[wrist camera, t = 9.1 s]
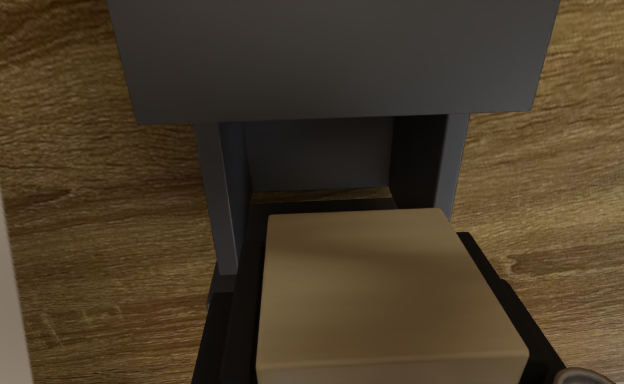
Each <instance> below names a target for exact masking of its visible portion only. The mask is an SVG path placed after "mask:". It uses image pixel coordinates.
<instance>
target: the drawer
mask: <svg viewBox="0 0 624 384" xmlns="http://www.w3.org/2000/svg"><path fill="white" fill-rule="evenodd" d="M469 118H470V113H466V114H437V115H409V116H381V117H353V118H325V119H296V120H268V121H240V122H212V123H193V127H194V132H195V138H196V144H197V149H198V155H199V161H200V166H201V172H202V178H203V184H204V189H205V195H206V201H207V206H208V212H209V218H210V223H211V229H212V235H213V240H214V246H215V252H216V258H217V261H216V265H215V269H214V273H213V278H212V282H211V286H210V290H209V294H208V299H207V303H206V306H207V310H209V306H210V301H211V298H212V295H213V293H217V292H234V288H235V282H236V276H237V270H238V264H239V258H240V252H241V247H242V242H245V241H263V242H264V246H266V238H267V226H268V218H269V216H270V215H274V214H298V213H322V212H347V211H371V210H395V209H419V208H440V209H441V210H442V211H443V213H444V215H445V216H446V218H447V219H448V221H449V223H450V219H451V213H452V208H453V203H454V197H455V192H456V187H457V181H458V176H459V171H460V166H461V160H462V155H463V150H464V144H465V139H466V134H467V128H468V123H469ZM374 187H389V190H390V192H391V194H392V196H393V198H374V199H351V200H328V201H305V202H282V203H259V204H250V202H251V195H252V193H257V192H281V191H304V190H327V189H351V188H374Z"/></svg>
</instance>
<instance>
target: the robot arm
mask: <svg viewBox="0 0 624 384" xmlns="http://www.w3.org/2000/svg"><path fill="white" fill-rule="evenodd" d="M456 234H457V235H458V237H459V239H460V240H461V242H462V243H463V245H464V247H465V248H466V250H467V252H468V253H469V255H470V256H471V258H472V260H473V261H474V263H475V264H476V266H477V268H478V269H479V271H480V272H481V274H482V276H483V277H484V279H485V280H486V282H487V284H488V285H489V287H490V289H491V290H492V292H493V293H494V295H495V297H496V298H497V300H498V301H499V303H500V305H501V306H502V308H503V309H504V311H505V313H506V314H507V316H508V317H509V319H510V321H511V322H512V324H513V325H514V327H515V329H516V330H517V332H518V334H519V335H520V337H521V338H522V340H523V342H524V343H525V345H526V346H527V348H528V350H529V358H528V360H527V363H526V366H525V368H524V371H523V373H522V376H521V378H520V381H519V383H518V384H616V383H615V382H613V381H612V380H610V379H609V378H607V377H606V376H604V375H601V374H599V373H597V372H595V371H592V370H588V369H584V368H580V367H569V368H566V366H565V365H564V363H563V362H562V360H561V359H560V357H559V356H558V354H557V353H556V352H555V350H554V349H553V347H552V346H551V344H550V343H549V341H548V340H547V338H546V337H545V336H544V334H543V333H542V331H541V330H540V328H539V327H538V325H537V324H536V322H535V321H534V319H533V318H532V317H531V315H530V314H529V312H528V311H527V309H526V308H525V306H524V305H523V303H522V302H521V301H520V299H519V298H518V296H517V295H516V293H515V292H514V290H513V289H512V287H511V286H510V285H509V284H508V283H507V281H505V280H503V279H500V278H499V276H498V275H497V273H496V272H495V270H494V269H493V267H492V266H491V264H490V263H489V261H488V260H487V258H486V257H485V255H484V254H483V252H482V251H481V249H480V248H479V246H478V245H477V243H476V242H475V240H474V239H473V237H472V236H471V234H470V233H468V232H456ZM265 250H266V246H264V242H263V241H245V242H242V247H241V252H240V258H239V264H238V270H237V276H236V282H235V288H234V292H217V293H213V295H212V298H211V301H210V306H209V310H208V314H207V318H206V323H205V327H204V331H203V335H202V340H201V344H200V348H199V352H198V357H197V361H196V365H195V369H194V373H193V378H192V382H191V384H258V381H257V373H256V356H257V344H258V333H259V321H260V309H261V297H262V285H263V273H264V262H265Z"/></svg>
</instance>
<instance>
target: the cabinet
mask: <svg viewBox="0 0 624 384" xmlns="http://www.w3.org/2000/svg"><path fill="white" fill-rule="evenodd" d="M106 2H107V6H108V10H109V14H110V18H111V22H112V26H113V30H114V34H115V38H116V42H117V46H118V50H119V54H120V58H121V62H122V66H123V70H124V74H125V78H126V82H127V86H128V90H129V94H130V98H131V102H132V106H133V110H134V114H135V118H136V122H137V125H155V124H184V123H212V122H240V121H268V120H296V119H325V118H353V117H381V116H409V115H437V114H466V113H494V112H522V111H531V109H532V105H533V101H534V98H535V94H536V90H537V86H538V83H539V79H540V75H541V71H542V68H543V64H544V60H545V56H546V53H547V49H548V45H549V41H550V38H551V34H552V30H553V26H554V23H555V19H556V15H557V11H558V8H559V4H560V0H106Z"/></svg>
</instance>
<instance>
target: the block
mask: <svg viewBox="0 0 624 384" xmlns="http://www.w3.org/2000/svg"><path fill="white" fill-rule="evenodd" d="M528 358H529V350H528V348H527V346H526V345H525V343H524V342H523V340H522V338H521V337H520V335H519V334H518V332H517V330H516V329H515V327H514V325H513V324H512V322H511V321H510V319H509V317H508V316H507V314H506V313H505V311H504V309H503V308H502V306H501V305H500V303H499V301H498V300H497V298H496V297H495V295H494V293H493V292H492V290H491V289H490V287H489V285H488V284H487V282H486V280H485V279H484V277H483V276H482V274H481V272H480V271H479V269H478V268H477V266H476V264H475V263H474V261H473V260H472V258H471V256H470V255H469V253H468V252H467V250H466V248H465V247H464V245H463V243H462V242H461V240H460V239H459V237H458V235H457V234H456V232H455V231H454V229H453V227H452V226H451V224H450V223H449V221H448V219H447V218H446V216H445V215H444V213H443V211H442V210H441V209H440V208H419V209H395V210H371V211H347V212H322V213H298V214H274V215H270V216H269V218H268V226H267V238H266V250H265V262H264V273H263V285H262V297H261V309H260V321H259V333H258V344H257V356H256V373H257V381H258V384H518V383H519V381H520V378H521V376H522V373H523V371H524V368H525V366H526V363H527V360H528Z"/></svg>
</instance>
